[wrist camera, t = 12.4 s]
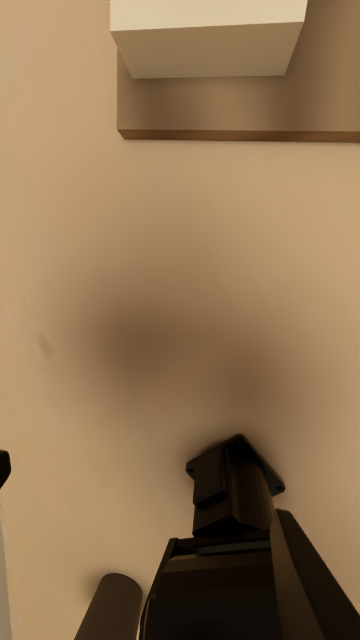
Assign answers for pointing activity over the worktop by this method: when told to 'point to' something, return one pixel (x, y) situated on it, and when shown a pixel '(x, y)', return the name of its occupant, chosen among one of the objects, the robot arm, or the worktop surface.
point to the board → (259, 92)
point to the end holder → (206, 36)
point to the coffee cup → (112, 610)
